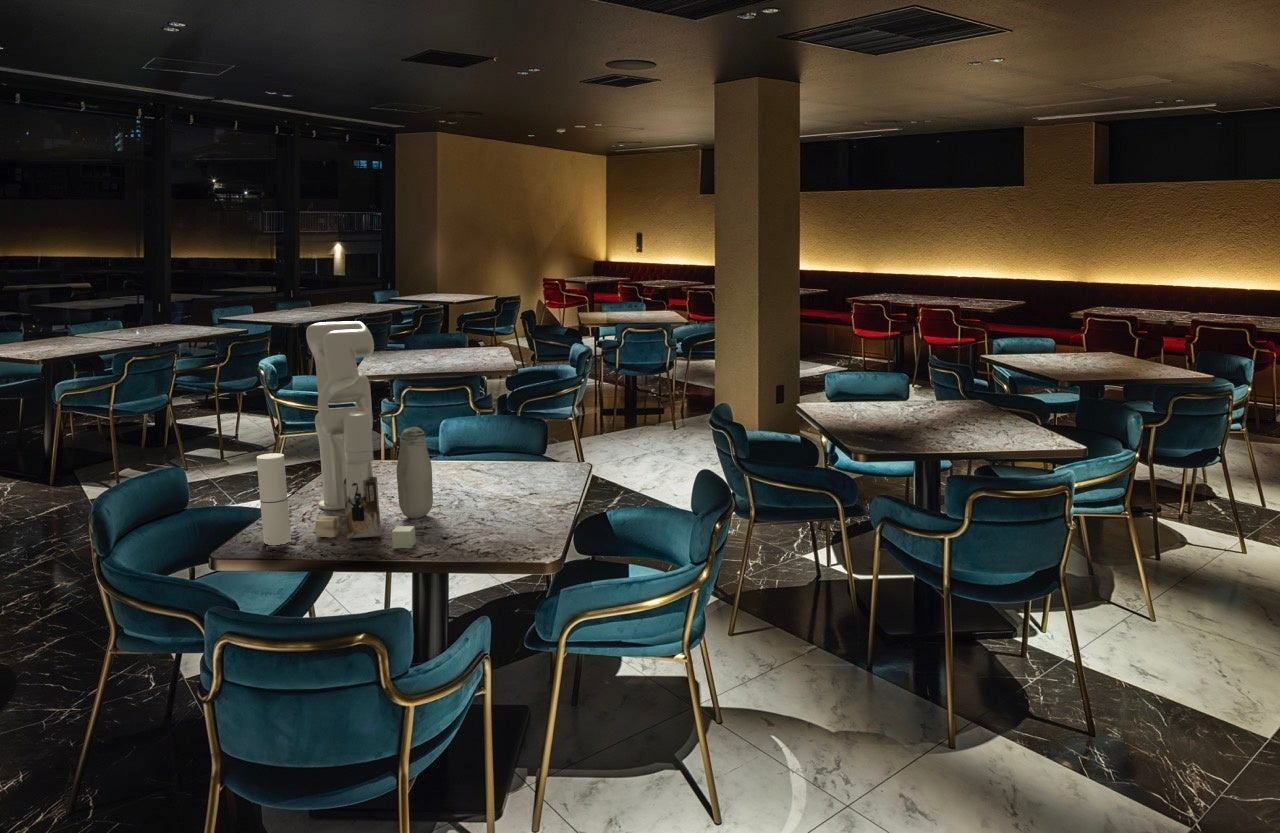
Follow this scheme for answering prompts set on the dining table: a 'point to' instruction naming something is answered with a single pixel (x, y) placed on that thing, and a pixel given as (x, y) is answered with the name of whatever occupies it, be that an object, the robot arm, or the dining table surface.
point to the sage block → (403, 537)
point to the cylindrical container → (273, 498)
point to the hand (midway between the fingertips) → (363, 516)
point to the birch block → (327, 526)
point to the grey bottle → (414, 474)
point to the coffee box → (370, 512)
